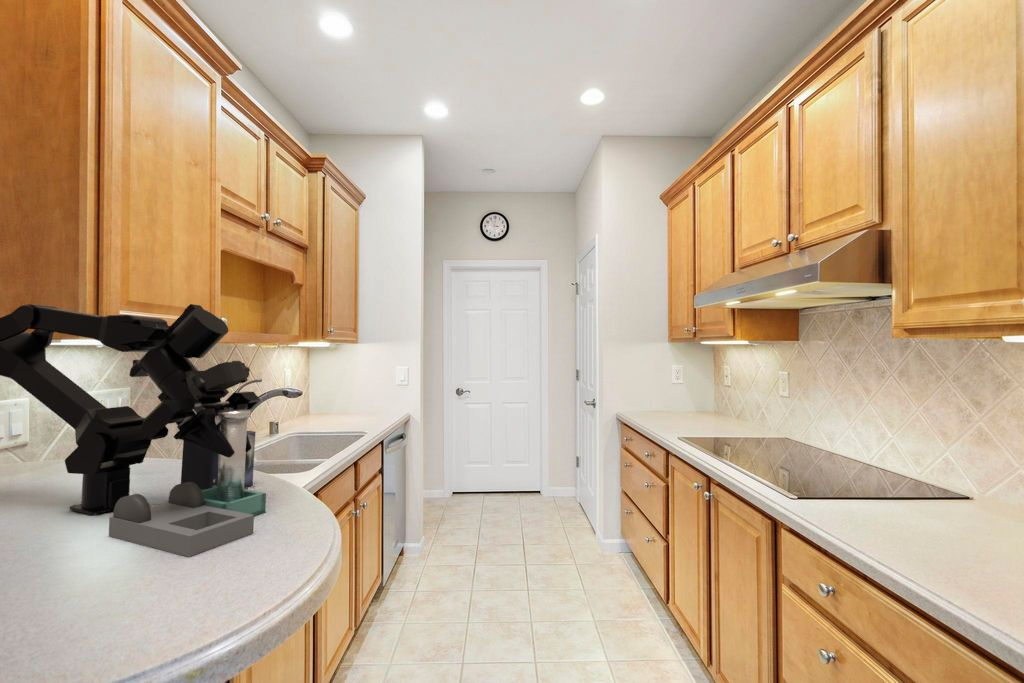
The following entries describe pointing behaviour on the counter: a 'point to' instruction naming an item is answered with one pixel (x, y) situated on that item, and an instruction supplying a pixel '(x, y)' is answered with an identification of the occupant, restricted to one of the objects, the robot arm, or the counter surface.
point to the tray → (237, 502)
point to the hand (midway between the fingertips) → (240, 452)
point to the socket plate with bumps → (178, 522)
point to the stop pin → (234, 466)
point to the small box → (210, 465)
